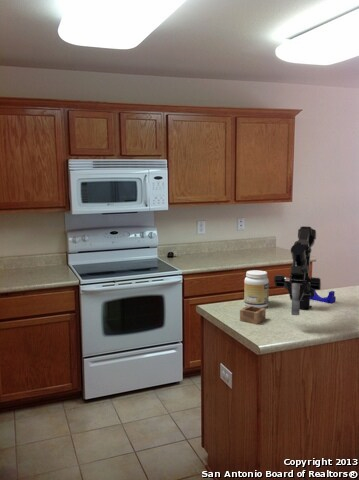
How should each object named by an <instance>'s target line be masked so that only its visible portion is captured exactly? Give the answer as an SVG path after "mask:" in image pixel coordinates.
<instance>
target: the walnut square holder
mask: <svg viewBox="0 0 359 480" xmlns="http://www.w3.org/2000/svg"><path fill="white" fill-rule="evenodd" d="M265 320H266V307H264V308H260V307H255V306H245V307H243V308H241V309H240V310H239V321H240V322H244V323H247V324H254V325H258V324H260V323H262V322H263V321H265Z"/></svg>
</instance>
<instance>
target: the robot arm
mask: <svg viewBox="0 0 359 480" xmlns="http://www.w3.org/2000/svg"><path fill="white" fill-rule="evenodd" d="M297 238H298V240H296V241H294V243H293V245H292V246H291V247H290V254H291V259H292V265H290V271H289V272H290V273H289V277H285V274H284V275H281V274H276V275H275V276H274V278H273V281H274V282H273V283H274V285H275V287H277V288H284V289H285V290H287V292H288V295H289V299H290V301H292V283H299V284H300V296H299V301H300V310H303V311H304V310H305V311H309V310H310V309H311V308H312V307H313V306H312V305H311V304H310V303H311V302H310V301H311V300H310V297H314V290H315V291H320V290H321V286H322V285H321V284H322V283H321V282H322V281H321V278H320V277H311V276H310V262H311V253H312V250H313V249H312V247H313V246H314V245H315V241H316V240H317V231H316V229H314V228H312V227H311V226H307V225H306V226H303V225H302V226H300V228H299V229H298V230H297Z"/></svg>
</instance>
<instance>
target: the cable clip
mask: <svg viewBox="0 0 359 480" xmlns="http://www.w3.org/2000/svg"><path fill="white" fill-rule="evenodd" d="M310 301H316V302H321V303H326V304H331V305H333V304H334V303H336V296H335V291H333V290H331V291H328V295H327V296H325V297H322V296H320V295H318V293H317V290H314V297H310Z"/></svg>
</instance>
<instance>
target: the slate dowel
mask: <svg viewBox="0 0 359 480" xmlns="http://www.w3.org/2000/svg"><path fill="white" fill-rule="evenodd" d="M291 286H292V300H291V316H299V315H300V310H301V309H300V301H299V296H300V284H299V283H292V284H291Z"/></svg>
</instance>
